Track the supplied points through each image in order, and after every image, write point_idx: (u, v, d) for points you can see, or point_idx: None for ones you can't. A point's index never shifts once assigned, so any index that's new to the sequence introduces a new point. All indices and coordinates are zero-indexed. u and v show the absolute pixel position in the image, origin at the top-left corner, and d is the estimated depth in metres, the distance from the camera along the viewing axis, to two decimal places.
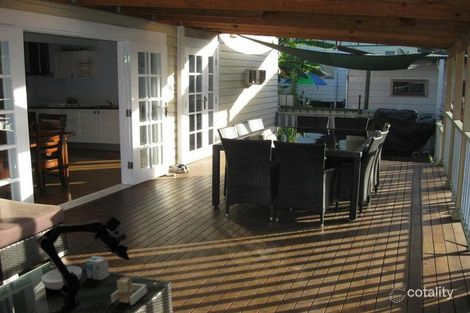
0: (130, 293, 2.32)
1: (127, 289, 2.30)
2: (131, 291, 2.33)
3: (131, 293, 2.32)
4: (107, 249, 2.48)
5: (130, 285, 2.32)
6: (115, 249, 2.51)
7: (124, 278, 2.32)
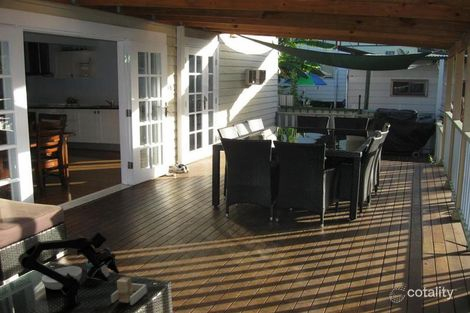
0: (130, 293, 2.32)
1: (127, 289, 2.30)
2: (131, 291, 2.33)
3: (131, 293, 2.32)
4: (105, 264, 2.40)
5: (130, 285, 2.32)
6: (112, 266, 2.38)
7: (124, 278, 2.32)
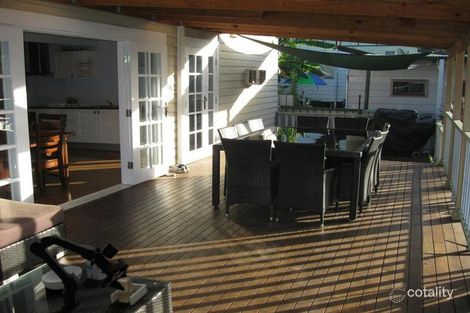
0: (130, 293, 2.32)
1: (127, 289, 2.30)
2: (131, 291, 2.33)
3: (131, 293, 2.32)
4: None
5: (130, 285, 2.32)
6: None
7: (124, 278, 2.32)
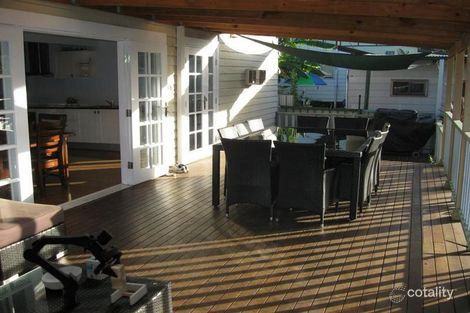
0: (123, 280, 2.32)
1: (120, 276, 2.29)
2: (124, 278, 2.32)
3: (124, 280, 2.32)
4: None
5: (123, 272, 2.32)
6: None
7: (117, 265, 2.32)
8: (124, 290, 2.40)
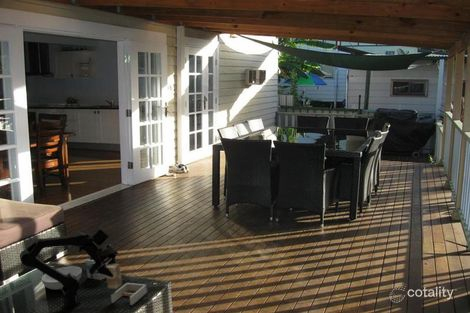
0: (119, 279, 2.33)
1: (115, 275, 2.30)
2: (120, 277, 2.33)
3: (119, 279, 2.33)
4: None
5: (119, 271, 2.33)
6: None
7: (113, 264, 2.33)
8: (124, 290, 2.40)
